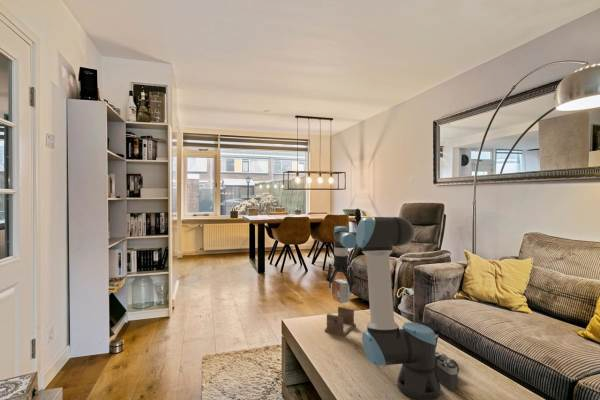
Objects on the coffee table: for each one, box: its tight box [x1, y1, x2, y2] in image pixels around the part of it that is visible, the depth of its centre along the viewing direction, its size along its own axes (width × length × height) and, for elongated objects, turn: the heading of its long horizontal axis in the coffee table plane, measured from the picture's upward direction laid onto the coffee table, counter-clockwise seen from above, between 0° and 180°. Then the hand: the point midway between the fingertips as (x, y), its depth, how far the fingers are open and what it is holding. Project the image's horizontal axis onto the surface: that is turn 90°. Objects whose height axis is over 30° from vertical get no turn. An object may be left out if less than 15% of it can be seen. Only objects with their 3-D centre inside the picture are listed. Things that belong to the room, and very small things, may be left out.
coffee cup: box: [417, 322, 441, 347], centre depth 147 cm, size 11×11×12 cm
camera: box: [435, 351, 460, 392], centre depth 126 cm, size 16×10×10 cm, turn 16°
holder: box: [324, 305, 357, 337], centre depth 173 cm, size 18×11×9 cm, turn 147°
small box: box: [332, 279, 350, 304], centre depth 173 cm, size 8×6×10 cm
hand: (340, 295), depth 173 cm, fingers closed on small box, 9 cm apart
